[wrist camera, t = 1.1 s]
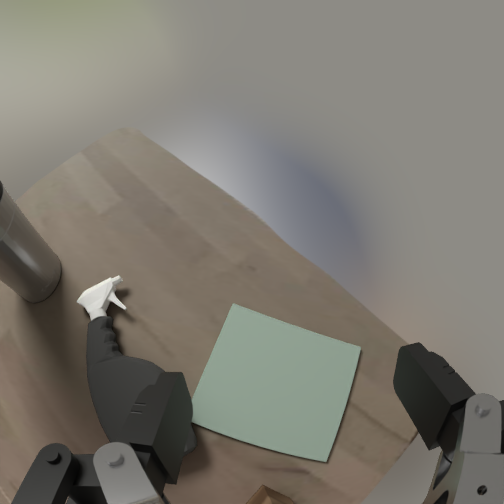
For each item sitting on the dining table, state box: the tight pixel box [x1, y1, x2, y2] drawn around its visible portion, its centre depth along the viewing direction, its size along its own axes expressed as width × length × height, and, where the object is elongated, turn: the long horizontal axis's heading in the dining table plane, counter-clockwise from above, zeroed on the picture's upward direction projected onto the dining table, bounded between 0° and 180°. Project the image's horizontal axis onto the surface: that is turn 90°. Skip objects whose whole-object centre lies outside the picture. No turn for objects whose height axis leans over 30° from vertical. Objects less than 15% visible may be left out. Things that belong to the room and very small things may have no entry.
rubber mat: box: [191, 303, 361, 462], centre depth 31 cm, size 18×16×1 cm
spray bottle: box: [77, 275, 197, 456], centre depth 29 cm, size 3×11×24 cm
